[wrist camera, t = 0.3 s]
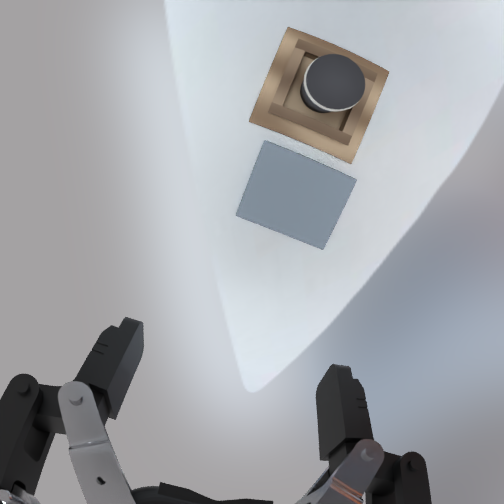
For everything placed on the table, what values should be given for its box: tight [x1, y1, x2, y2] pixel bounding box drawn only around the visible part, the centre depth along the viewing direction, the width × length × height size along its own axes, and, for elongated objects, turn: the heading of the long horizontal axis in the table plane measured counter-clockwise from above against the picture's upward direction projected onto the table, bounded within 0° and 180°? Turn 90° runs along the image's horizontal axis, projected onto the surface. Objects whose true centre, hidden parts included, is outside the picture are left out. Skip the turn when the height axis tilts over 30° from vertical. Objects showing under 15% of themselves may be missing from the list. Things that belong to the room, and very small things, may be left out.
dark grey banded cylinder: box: [300, 54, 365, 113], centre depth 26 cm, size 5×5×10 cm
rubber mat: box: [236, 141, 357, 250], centre depth 36 cm, size 10×12×1 cm
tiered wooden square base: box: [249, 27, 389, 164], centre depth 29 cm, size 13×13×3 cm
